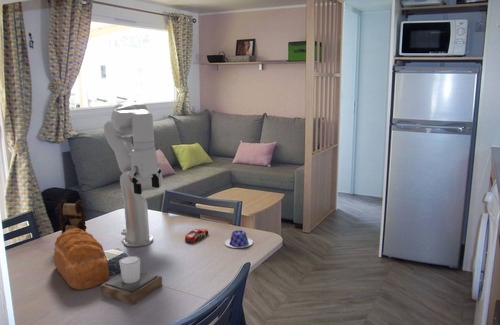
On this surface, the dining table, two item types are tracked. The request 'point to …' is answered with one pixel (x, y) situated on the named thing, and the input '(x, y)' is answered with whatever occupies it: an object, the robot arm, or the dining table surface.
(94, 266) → the bread
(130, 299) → the tray
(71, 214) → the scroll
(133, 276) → the shot glass
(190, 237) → the race car
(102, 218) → the dining table surface
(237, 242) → the pudding
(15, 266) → the dining table surface
